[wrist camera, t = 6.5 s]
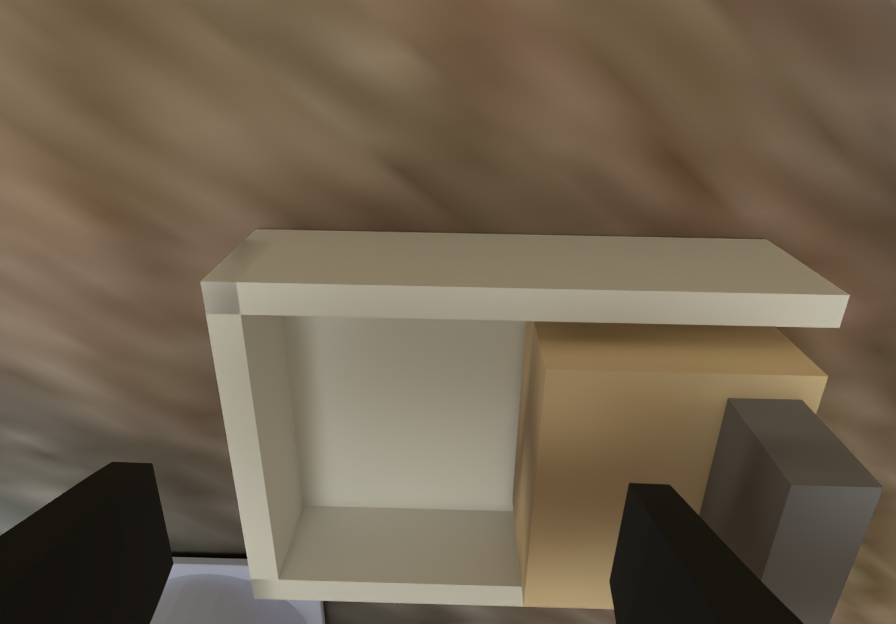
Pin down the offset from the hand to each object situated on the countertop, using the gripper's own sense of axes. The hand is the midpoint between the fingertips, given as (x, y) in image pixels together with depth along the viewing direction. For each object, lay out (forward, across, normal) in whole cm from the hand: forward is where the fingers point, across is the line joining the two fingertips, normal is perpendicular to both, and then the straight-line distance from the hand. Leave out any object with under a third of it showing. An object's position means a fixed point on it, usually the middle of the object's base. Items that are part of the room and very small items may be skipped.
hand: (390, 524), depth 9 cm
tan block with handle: (+8, -6, +3) cm, 11 cm away
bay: (+9, -2, +3) cm, 10 cm away
